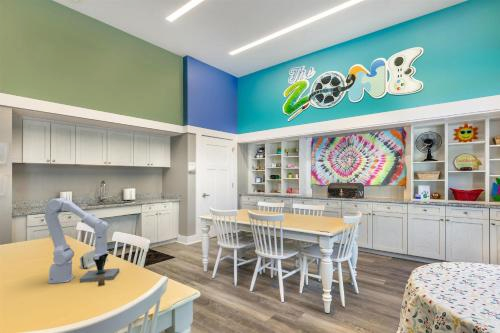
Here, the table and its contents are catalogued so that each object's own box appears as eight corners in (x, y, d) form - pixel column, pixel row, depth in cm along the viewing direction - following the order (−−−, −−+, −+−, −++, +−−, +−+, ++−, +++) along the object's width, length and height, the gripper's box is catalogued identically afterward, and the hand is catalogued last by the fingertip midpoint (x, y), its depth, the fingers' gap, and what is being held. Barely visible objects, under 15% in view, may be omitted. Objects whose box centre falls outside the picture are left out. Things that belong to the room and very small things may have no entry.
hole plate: (79, 282, 134) (79, 278, 134) (88, 274, 146) (88, 270, 146) (113, 279, 138) (113, 275, 138) (119, 271, 149) (119, 268, 149)
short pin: (97, 286, 129) (97, 277, 129) (99, 284, 132) (99, 275, 132) (103, 285, 130) (103, 276, 130) (105, 283, 133) (105, 274, 133)
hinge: (88, 269, 153) (83, 253, 154) (81, 271, 154) (77, 255, 155) (108, 260, 170) (104, 246, 171) (103, 262, 170) (98, 248, 172)
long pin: (97, 276, 140) (97, 257, 140) (98, 274, 143) (98, 256, 143) (102, 275, 141) (103, 257, 141) (104, 273, 143) (104, 255, 144)
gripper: (104, 246, 136) (104, 272, 136) (112, 240, 150) (112, 263, 150) (90, 247, 135) (89, 274, 134) (99, 241, 149) (99, 264, 148)
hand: (100, 268), depth 142 cm, fingers closed on long pin, 3 cm apart
